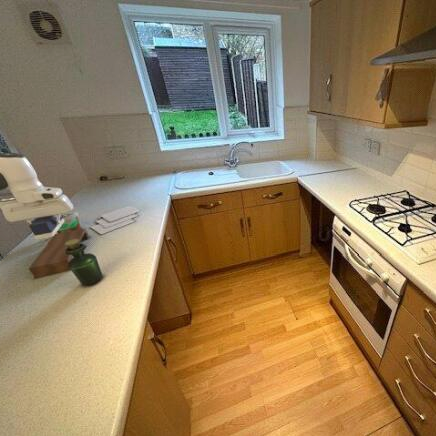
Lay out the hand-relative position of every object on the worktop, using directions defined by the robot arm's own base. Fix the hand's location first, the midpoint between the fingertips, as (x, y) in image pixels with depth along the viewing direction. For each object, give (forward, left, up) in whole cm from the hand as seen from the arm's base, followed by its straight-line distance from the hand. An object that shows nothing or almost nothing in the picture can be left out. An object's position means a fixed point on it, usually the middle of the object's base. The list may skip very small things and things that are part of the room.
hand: (48, 225), depth 100 cm
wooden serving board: (0, 0, -15) cm, 15 cm away
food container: (-4, +23, -16) cm, 28 cm away
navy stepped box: (0, 0, -2) cm, 2 cm away
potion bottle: (+15, -26, -16) cm, 34 cm away
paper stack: (+16, +30, -15) cm, 37 cm away
